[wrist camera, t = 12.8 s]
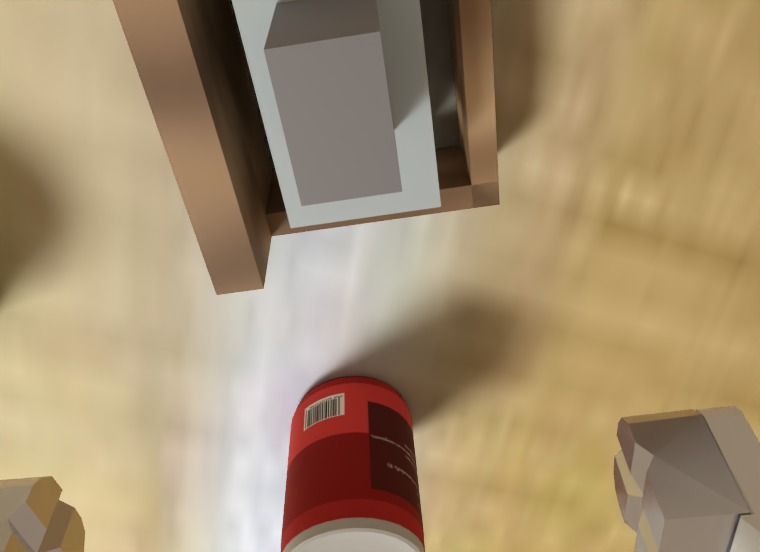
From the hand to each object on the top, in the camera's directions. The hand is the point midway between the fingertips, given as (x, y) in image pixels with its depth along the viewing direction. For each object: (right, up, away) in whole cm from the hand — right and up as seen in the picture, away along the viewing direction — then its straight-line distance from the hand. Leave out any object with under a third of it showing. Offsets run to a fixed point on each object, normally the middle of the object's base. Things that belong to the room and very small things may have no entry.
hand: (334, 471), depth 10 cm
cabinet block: (-1, +15, +20) cm, 25 cm away
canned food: (-1, -6, +36) cm, 36 cm away
